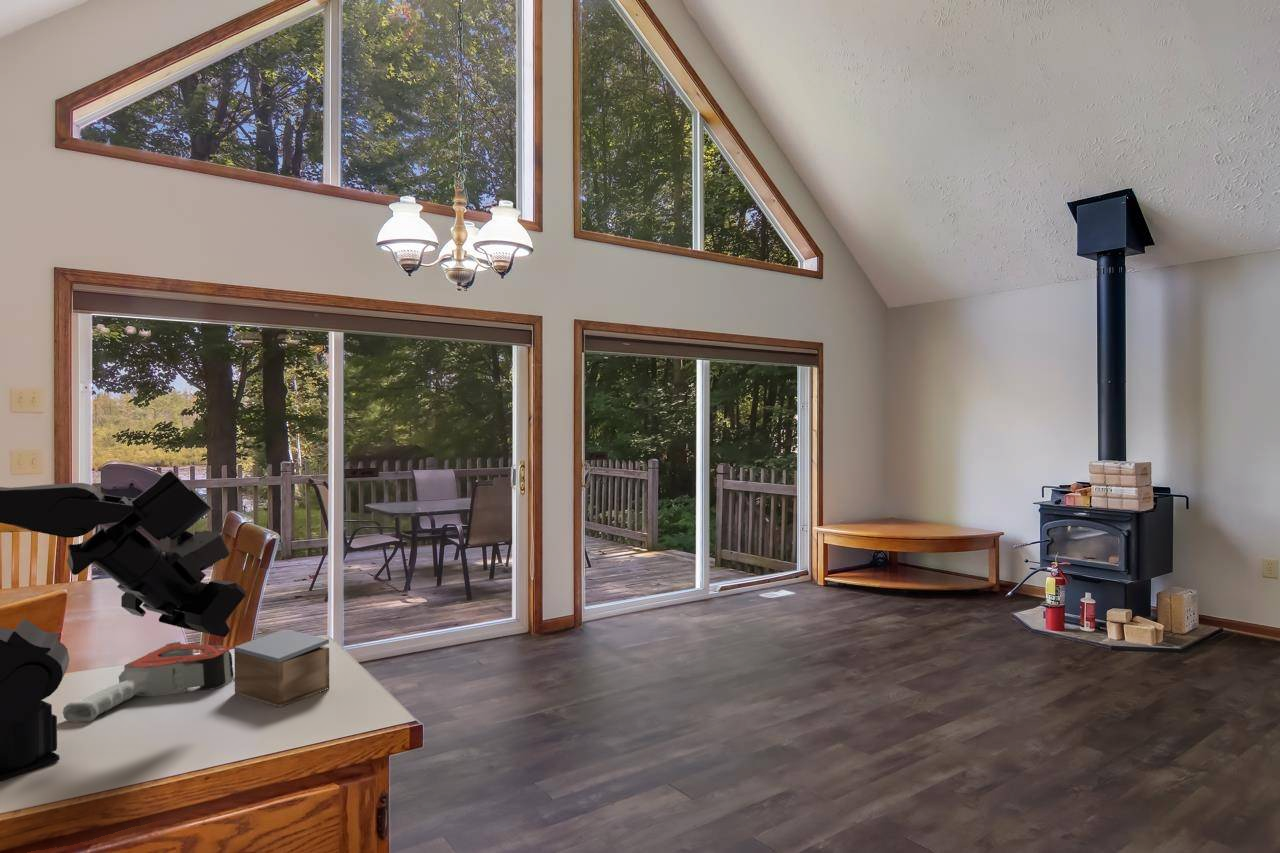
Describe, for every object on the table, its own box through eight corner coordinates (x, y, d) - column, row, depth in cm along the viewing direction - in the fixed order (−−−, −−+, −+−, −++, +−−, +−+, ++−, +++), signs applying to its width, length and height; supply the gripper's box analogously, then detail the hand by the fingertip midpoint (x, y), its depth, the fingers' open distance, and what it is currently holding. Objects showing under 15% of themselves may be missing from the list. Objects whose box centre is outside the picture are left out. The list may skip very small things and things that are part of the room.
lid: (278, 662, 104) (278, 658, 104) (234, 650, 109) (234, 646, 109) (329, 643, 111) (328, 639, 111) (285, 632, 116) (284, 629, 116)
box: (279, 707, 104) (278, 663, 104) (234, 693, 110) (234, 651, 109) (329, 688, 111) (329, 647, 111) (285, 676, 116) (285, 637, 116)
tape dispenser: (63, 741, 98) (239, 701, 108) (58, 701, 98) (236, 664, 108) (78, 690, 113) (232, 659, 123) (74, 655, 113) (229, 627, 123)
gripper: (231, 518, 94) (309, 591, 104) (146, 507, 103) (225, 575, 113) (164, 596, 87) (254, 666, 97) (79, 577, 96) (170, 643, 106)
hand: (226, 633), depth 103 cm, fingers closed
